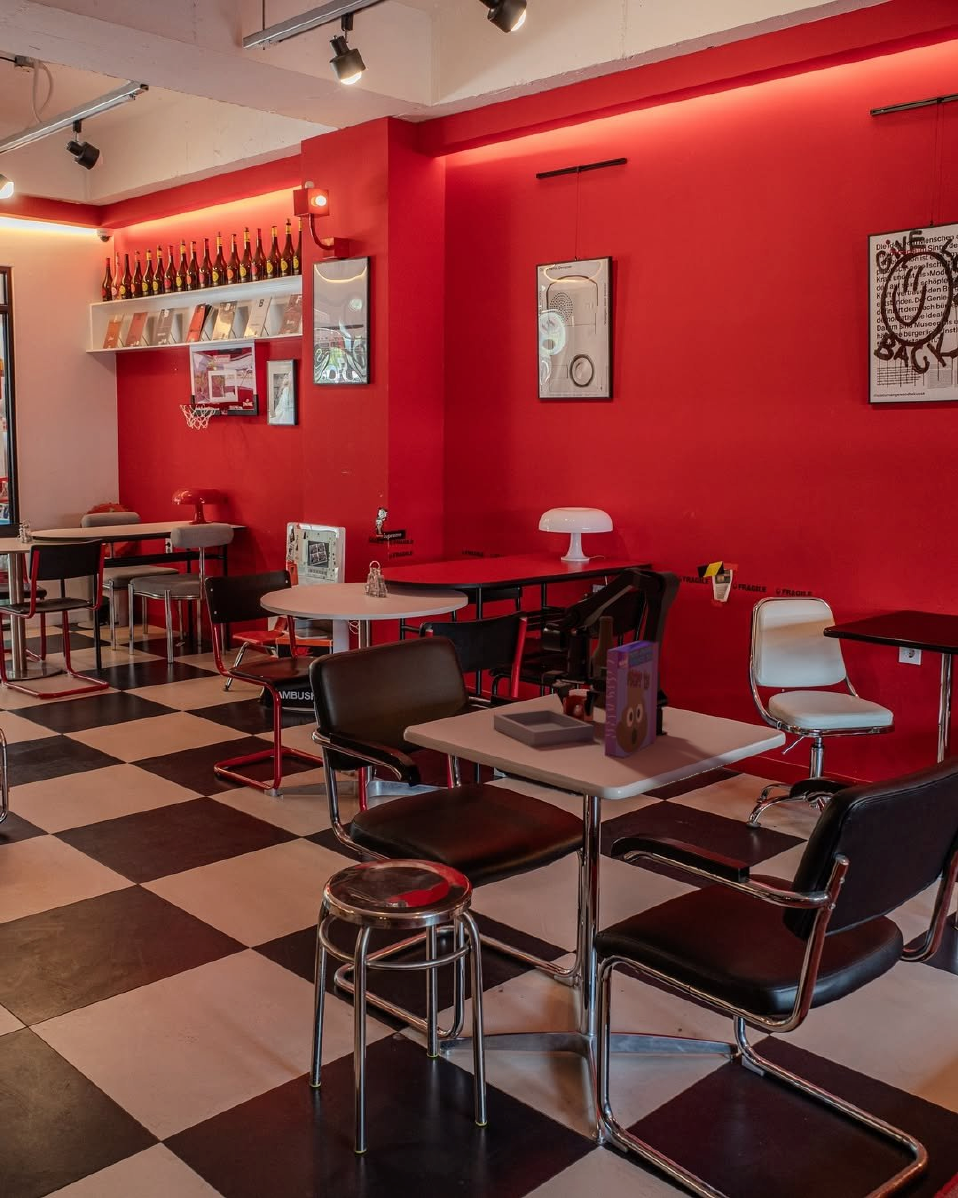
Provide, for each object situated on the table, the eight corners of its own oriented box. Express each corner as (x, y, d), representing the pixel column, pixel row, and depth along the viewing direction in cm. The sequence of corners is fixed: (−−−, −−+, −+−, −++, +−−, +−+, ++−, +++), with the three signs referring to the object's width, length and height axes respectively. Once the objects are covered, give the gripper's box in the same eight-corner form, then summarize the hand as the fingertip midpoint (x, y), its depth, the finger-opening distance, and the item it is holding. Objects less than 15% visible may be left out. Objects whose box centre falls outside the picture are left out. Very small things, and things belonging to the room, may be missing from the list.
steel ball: (586, 717, 285) (586, 705, 284) (576, 718, 283) (576, 706, 283) (580, 715, 287) (580, 704, 287) (570, 716, 286) (570, 704, 286)
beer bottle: (618, 702, 308) (620, 615, 305) (619, 708, 300) (621, 619, 297) (589, 701, 308) (591, 614, 305) (589, 707, 301) (591, 618, 298)
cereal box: (624, 758, 249) (626, 651, 246) (604, 755, 252) (607, 649, 249) (655, 742, 264) (658, 641, 261) (636, 739, 266) (639, 639, 263)
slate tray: (593, 740, 265) (593, 725, 265) (534, 747, 258) (534, 732, 257) (550, 722, 283) (550, 708, 282) (493, 728, 276) (494, 714, 275)
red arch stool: (593, 720, 286) (593, 696, 285) (584, 723, 282) (584, 700, 281) (572, 717, 289) (572, 694, 288) (562, 720, 285) (563, 697, 284)
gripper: (627, 653, 285) (625, 713, 287) (562, 645, 295) (561, 704, 297) (607, 659, 276) (605, 721, 277) (541, 651, 286) (540, 712, 288)
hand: (578, 714), depth 285 cm, fingers closed on red arch stool, 6 cm apart
